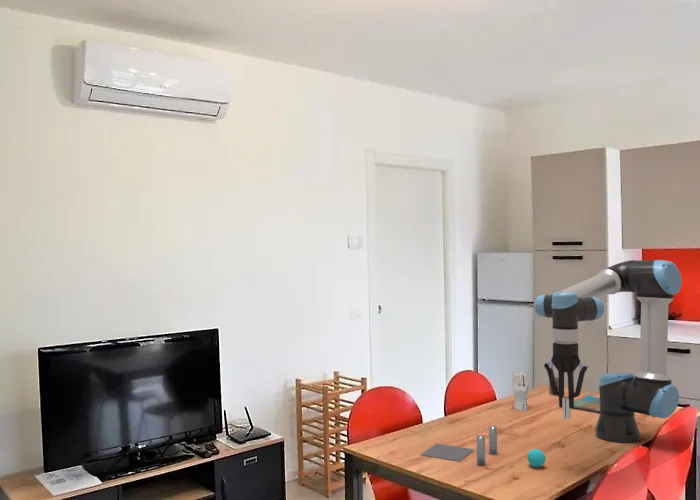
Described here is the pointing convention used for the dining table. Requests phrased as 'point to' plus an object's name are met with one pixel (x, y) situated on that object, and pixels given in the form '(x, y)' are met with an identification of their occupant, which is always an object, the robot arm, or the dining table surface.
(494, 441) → the post
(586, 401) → the dish towel
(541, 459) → the ball
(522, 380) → the beer glass
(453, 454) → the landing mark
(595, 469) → the dining table surface
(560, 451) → the dining table surface
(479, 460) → the post
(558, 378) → the wooden block
